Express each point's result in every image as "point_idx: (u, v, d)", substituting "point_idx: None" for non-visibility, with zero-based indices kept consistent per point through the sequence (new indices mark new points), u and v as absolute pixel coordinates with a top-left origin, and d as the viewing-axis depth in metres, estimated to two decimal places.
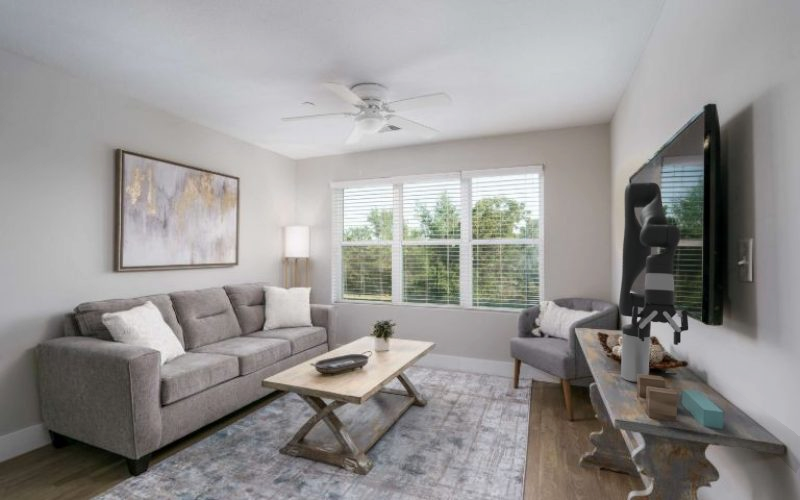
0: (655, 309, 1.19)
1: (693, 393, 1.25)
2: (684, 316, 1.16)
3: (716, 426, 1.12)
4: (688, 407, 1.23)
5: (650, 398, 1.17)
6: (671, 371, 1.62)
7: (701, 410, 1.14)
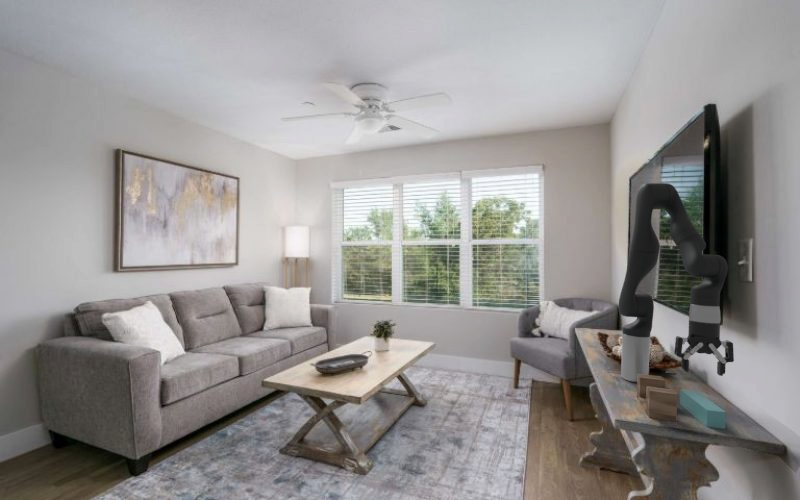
0: (700, 340, 1.19)
1: (692, 393, 1.25)
2: (730, 348, 1.16)
3: (719, 427, 1.11)
4: (687, 407, 1.23)
5: (650, 398, 1.17)
6: (671, 371, 1.62)
7: (704, 410, 1.14)
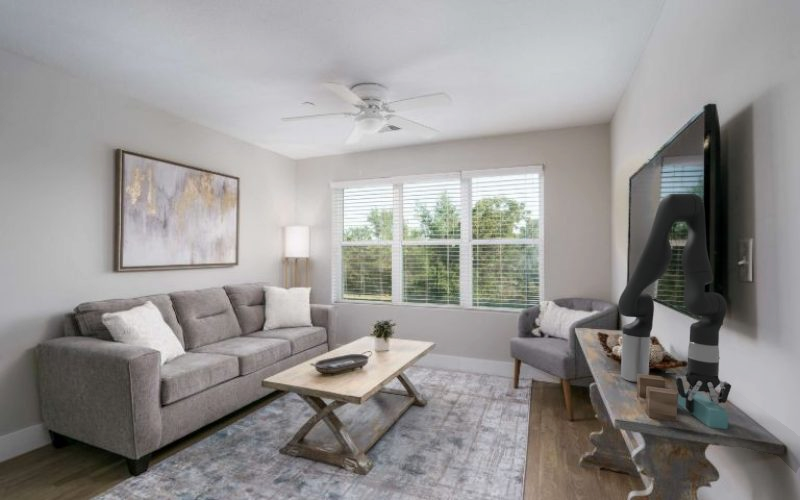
0: (699, 378, 1.19)
1: None
2: (726, 389, 1.17)
3: (721, 426, 1.11)
4: None
5: (650, 398, 1.17)
6: (671, 371, 1.62)
7: (706, 410, 1.14)
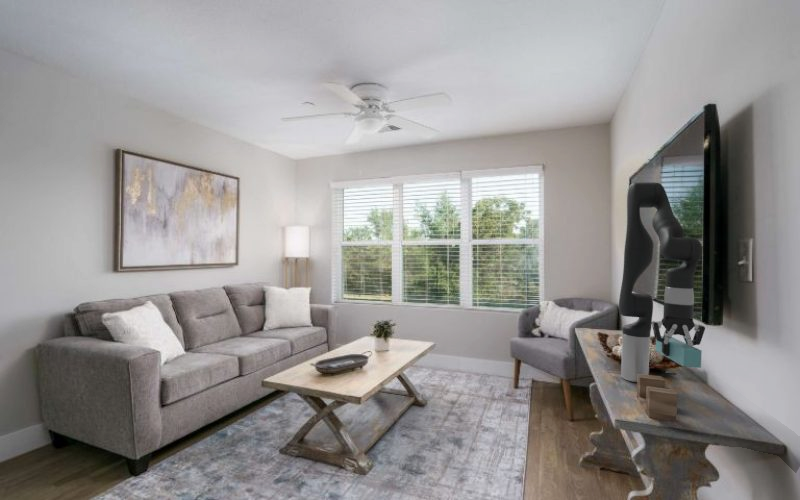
0: (674, 322, 1.21)
1: None
2: (700, 332, 1.19)
3: (695, 365, 1.14)
4: None
5: (650, 398, 1.17)
6: (671, 371, 1.62)
7: (680, 350, 1.16)
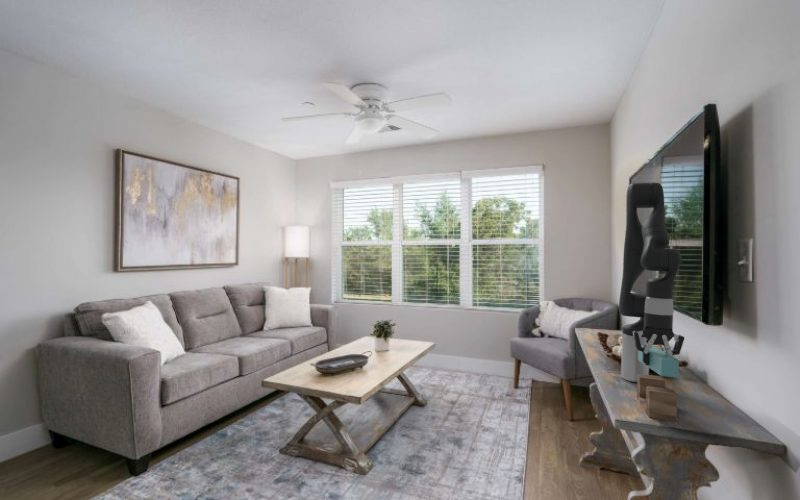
0: (654, 332, 1.23)
1: None
2: (680, 342, 1.21)
3: (672, 375, 1.15)
4: None
5: (650, 398, 1.17)
6: None
7: (658, 360, 1.18)
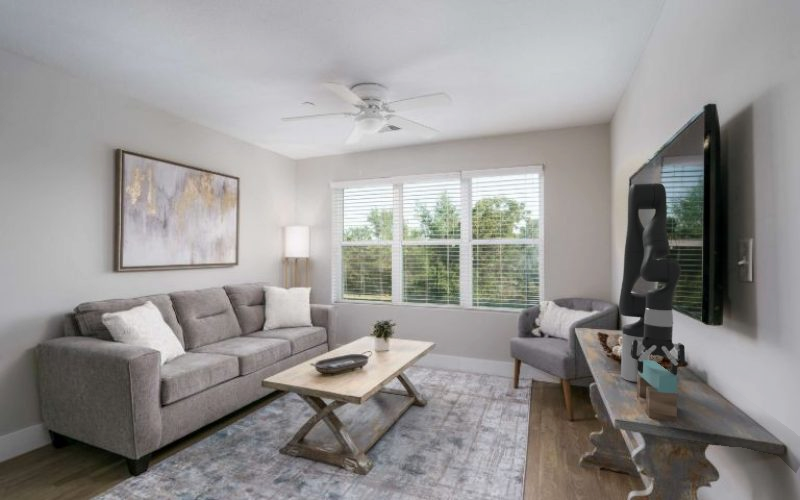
0: (654, 343, 1.23)
1: (649, 362, 1.29)
2: (681, 350, 1.21)
3: (670, 391, 1.16)
4: (644, 375, 1.27)
5: (650, 398, 1.17)
6: None
7: (657, 376, 1.18)
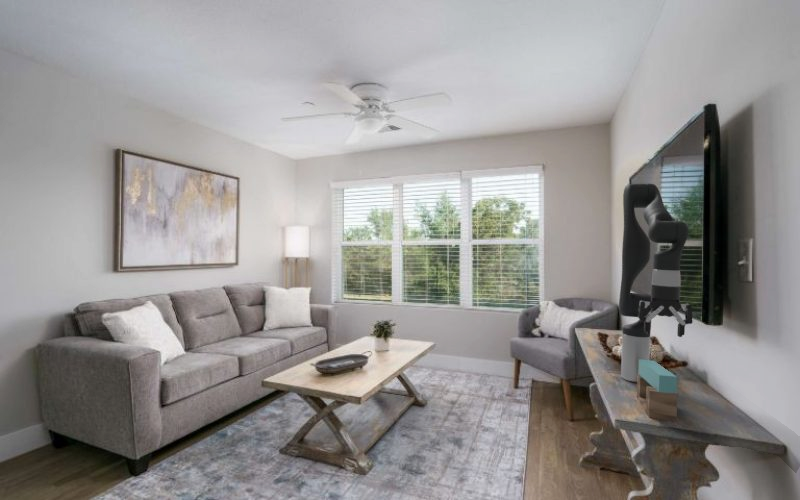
0: (661, 304, 1.24)
1: (649, 362, 1.29)
2: (689, 310, 1.21)
3: (670, 391, 1.16)
4: (644, 375, 1.27)
5: (650, 398, 1.17)
6: (671, 371, 1.62)
7: (657, 376, 1.18)
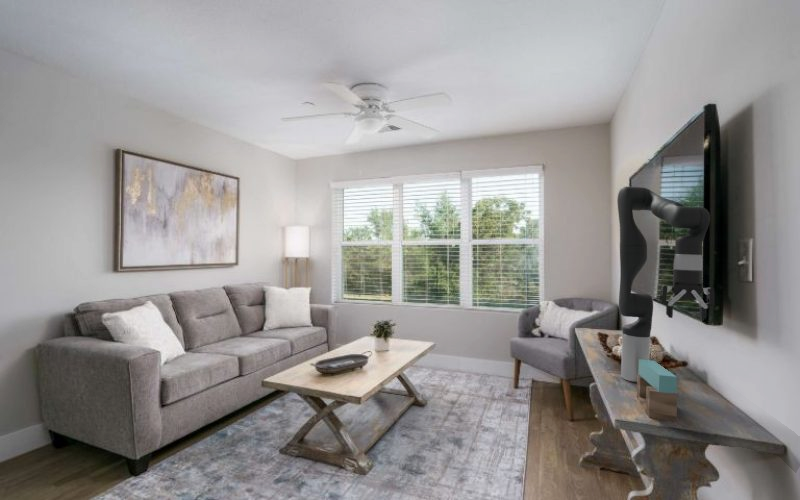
0: (684, 288, 1.26)
1: (649, 362, 1.29)
2: (711, 294, 1.24)
3: (670, 391, 1.16)
4: (644, 375, 1.27)
5: (650, 398, 1.17)
6: (671, 371, 1.62)
7: (657, 376, 1.18)
